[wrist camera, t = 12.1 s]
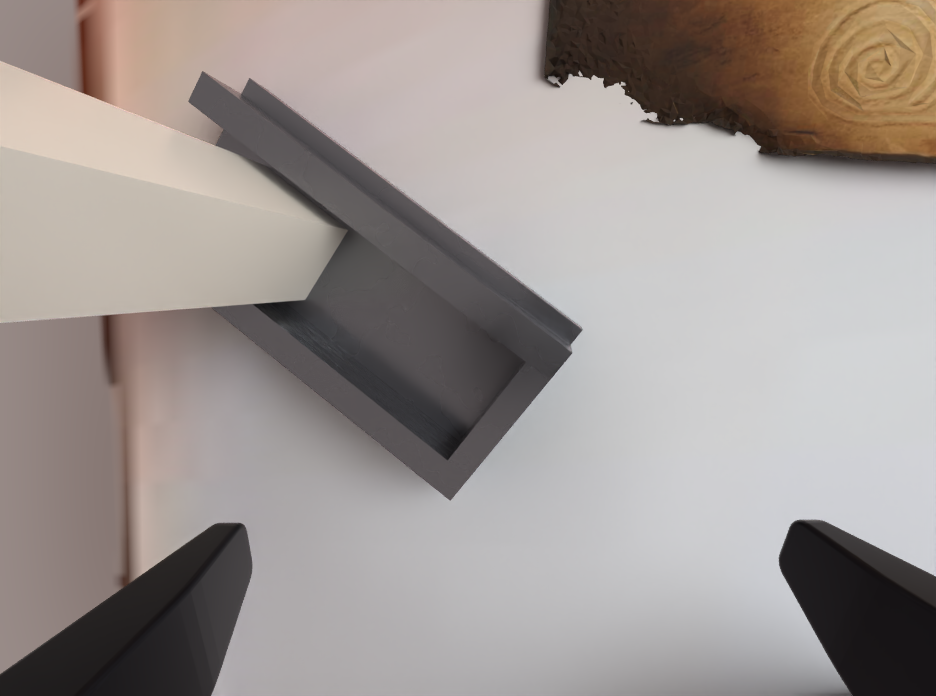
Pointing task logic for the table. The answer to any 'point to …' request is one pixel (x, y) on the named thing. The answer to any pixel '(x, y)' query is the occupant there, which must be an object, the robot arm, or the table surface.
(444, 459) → the grey rectangular tray
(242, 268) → the cream rectangular block
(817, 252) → the table surface
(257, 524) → the table surface
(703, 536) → the table surface
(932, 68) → the parchment
